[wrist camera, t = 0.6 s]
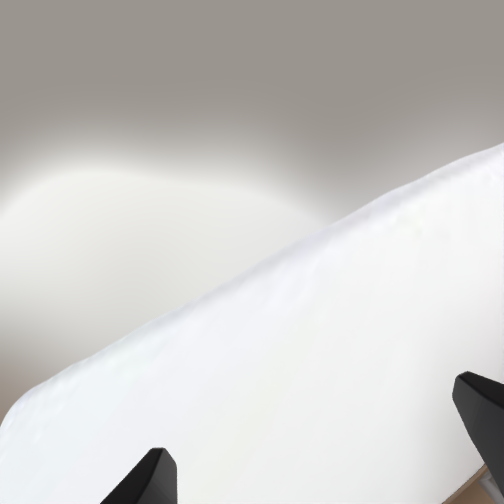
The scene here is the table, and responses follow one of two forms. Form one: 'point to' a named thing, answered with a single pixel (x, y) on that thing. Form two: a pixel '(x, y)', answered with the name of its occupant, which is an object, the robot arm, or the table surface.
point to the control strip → (478, 490)
